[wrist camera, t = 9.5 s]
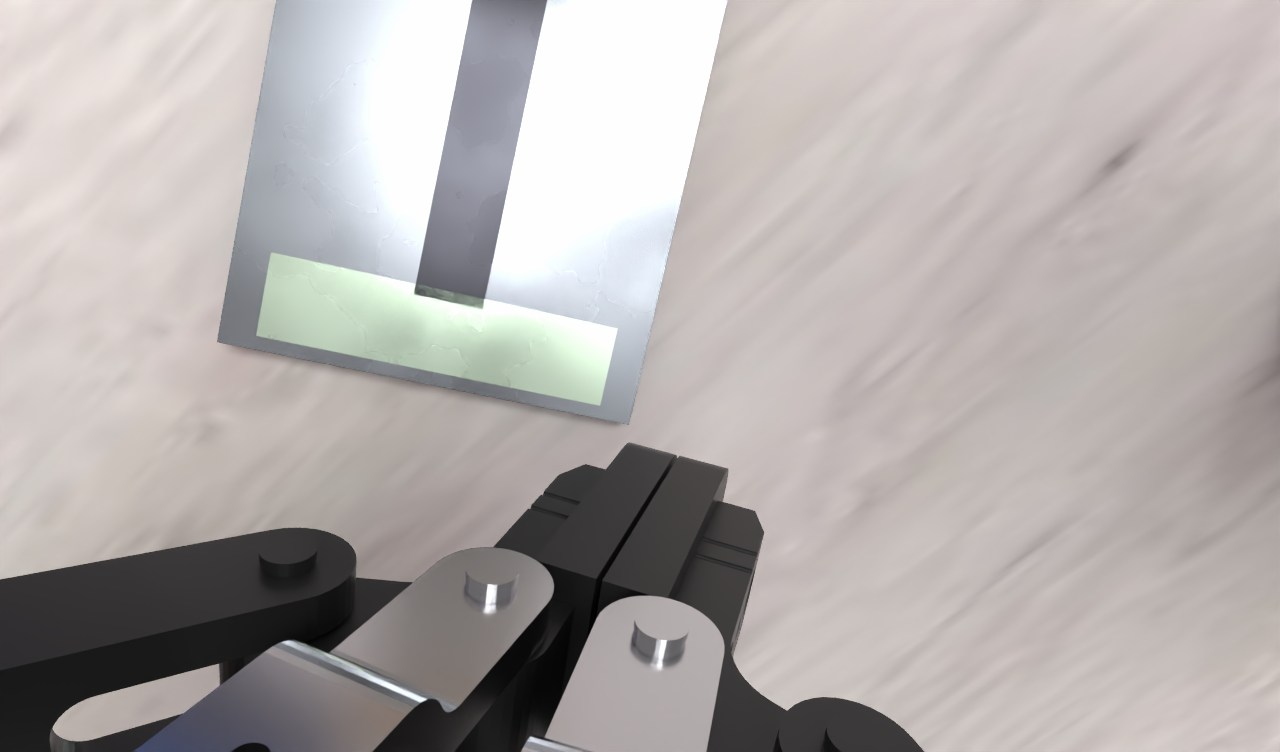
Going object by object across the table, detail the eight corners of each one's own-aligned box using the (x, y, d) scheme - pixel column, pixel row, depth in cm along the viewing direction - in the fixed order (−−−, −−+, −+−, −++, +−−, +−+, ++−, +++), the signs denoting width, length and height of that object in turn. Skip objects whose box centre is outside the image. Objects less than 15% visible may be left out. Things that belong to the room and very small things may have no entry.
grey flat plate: (358, -386, 22) (348, -423, 21) (775, -238, 24) (788, -264, 23) (231, 337, 25) (216, 342, 23) (623, 417, 27) (629, 425, 25)
